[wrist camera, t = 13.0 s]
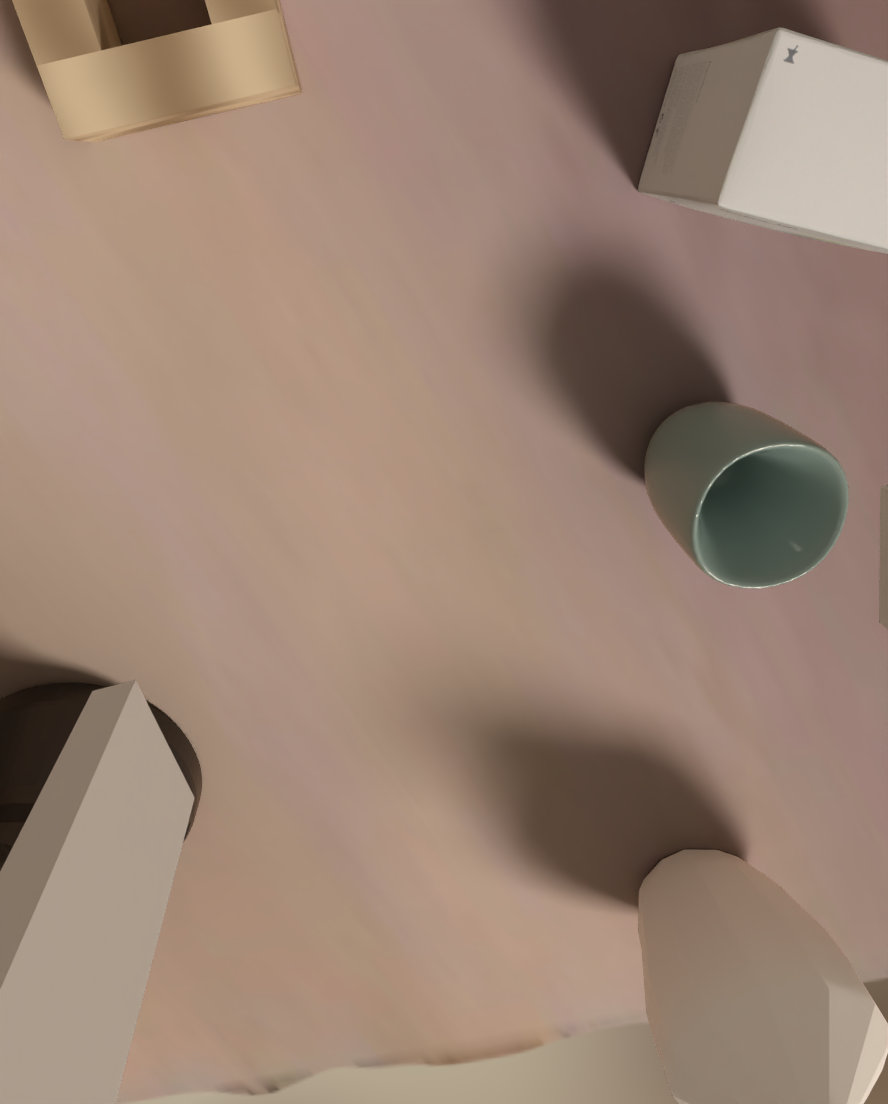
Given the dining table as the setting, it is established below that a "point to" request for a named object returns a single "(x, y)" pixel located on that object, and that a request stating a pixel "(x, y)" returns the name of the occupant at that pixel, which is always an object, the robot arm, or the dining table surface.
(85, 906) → the robot arm
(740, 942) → the vase
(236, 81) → the mount
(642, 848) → the dining table surface
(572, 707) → the dining table surface
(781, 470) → the cup
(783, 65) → the skincare box
